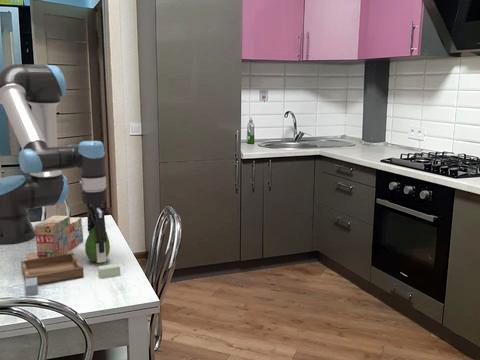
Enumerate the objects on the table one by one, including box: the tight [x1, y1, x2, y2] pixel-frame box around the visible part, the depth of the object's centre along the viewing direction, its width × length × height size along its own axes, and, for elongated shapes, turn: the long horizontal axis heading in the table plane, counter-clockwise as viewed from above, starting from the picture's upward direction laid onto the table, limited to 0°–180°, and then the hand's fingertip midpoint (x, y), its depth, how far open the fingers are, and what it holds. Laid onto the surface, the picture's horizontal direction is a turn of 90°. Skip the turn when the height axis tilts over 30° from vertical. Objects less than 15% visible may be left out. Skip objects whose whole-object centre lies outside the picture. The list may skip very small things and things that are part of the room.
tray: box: [20, 252, 85, 287], centre depth 151 cm, size 16×16×3 cm
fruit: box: [84, 227, 111, 263], centre depth 161 cm, size 8×8×12 cm
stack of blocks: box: [34, 215, 84, 258], centre depth 172 cm, size 21×6×12 cm, turn 173°
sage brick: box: [97, 263, 121, 279], centre depth 149 cm, size 6×3×3 cm, turn 115°
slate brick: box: [24, 277, 39, 297], centre depth 138 cm, size 6×3×3 cm, turn 22°
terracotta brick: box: [25, 252, 39, 260], centre depth 159 cm, size 6×3×3 cm, turn 29°
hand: (98, 257), depth 161 cm, fingers open, 8 cm apart
